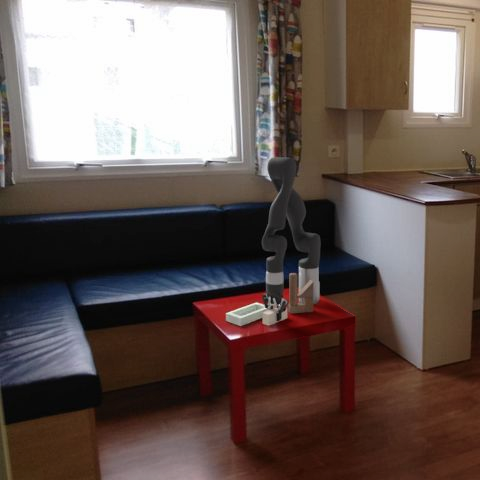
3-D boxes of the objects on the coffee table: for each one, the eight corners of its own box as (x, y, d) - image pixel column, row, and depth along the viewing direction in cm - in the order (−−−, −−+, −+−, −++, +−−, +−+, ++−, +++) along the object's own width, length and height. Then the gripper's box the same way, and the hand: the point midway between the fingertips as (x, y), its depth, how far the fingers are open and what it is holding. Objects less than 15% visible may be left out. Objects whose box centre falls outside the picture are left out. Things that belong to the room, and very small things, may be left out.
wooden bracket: (313, 312, 239) (313, 273, 235) (290, 314, 237) (290, 275, 233) (310, 309, 242) (310, 271, 238) (288, 311, 240) (287, 273, 236)
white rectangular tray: (256, 309, 243) (256, 302, 242) (271, 314, 237) (271, 306, 236) (226, 320, 230) (225, 313, 230) (240, 326, 224) (240, 318, 223)
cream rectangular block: (281, 316, 235) (281, 305, 233) (287, 318, 232) (287, 307, 231) (262, 323, 226) (262, 312, 225) (268, 325, 224) (268, 314, 223)
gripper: (293, 282, 223) (293, 321, 227) (268, 276, 233) (269, 313, 237) (281, 286, 218) (281, 326, 222) (256, 279, 228) (257, 317, 232)
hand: (275, 319), depth 229 cm, fingers closed on cream rectangular block, 3 cm apart
